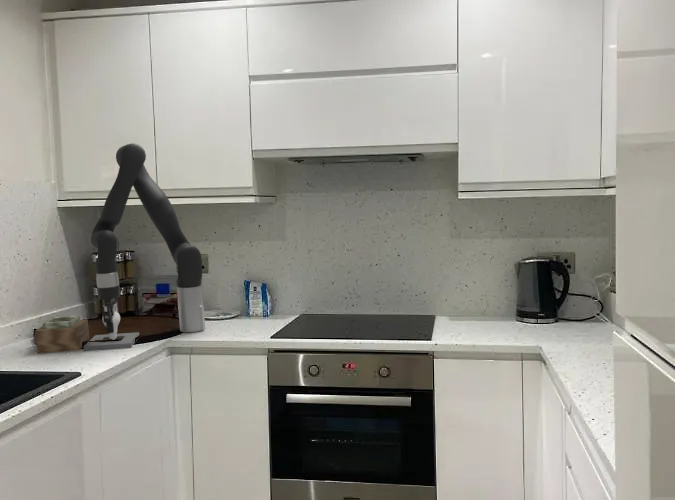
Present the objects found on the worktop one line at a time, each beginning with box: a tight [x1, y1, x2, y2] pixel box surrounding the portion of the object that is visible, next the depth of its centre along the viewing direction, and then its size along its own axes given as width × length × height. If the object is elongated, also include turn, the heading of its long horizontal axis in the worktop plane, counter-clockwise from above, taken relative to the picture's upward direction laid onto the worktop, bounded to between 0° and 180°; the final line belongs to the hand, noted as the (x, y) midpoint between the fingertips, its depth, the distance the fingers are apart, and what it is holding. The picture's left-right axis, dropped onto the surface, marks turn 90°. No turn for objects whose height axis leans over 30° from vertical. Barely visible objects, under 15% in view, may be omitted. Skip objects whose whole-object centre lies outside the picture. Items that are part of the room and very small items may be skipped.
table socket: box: [83, 331, 140, 352], centre depth 236 cm, size 16×16×2 cm
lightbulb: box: [101, 311, 121, 340], centre depth 235 cm, size 6×6×11 cm
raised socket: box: [34, 315, 90, 354], centre depth 234 cm, size 14×14×10 cm
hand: (112, 330), depth 236 cm, fingers closed on lightbulb, 5 cm apart
